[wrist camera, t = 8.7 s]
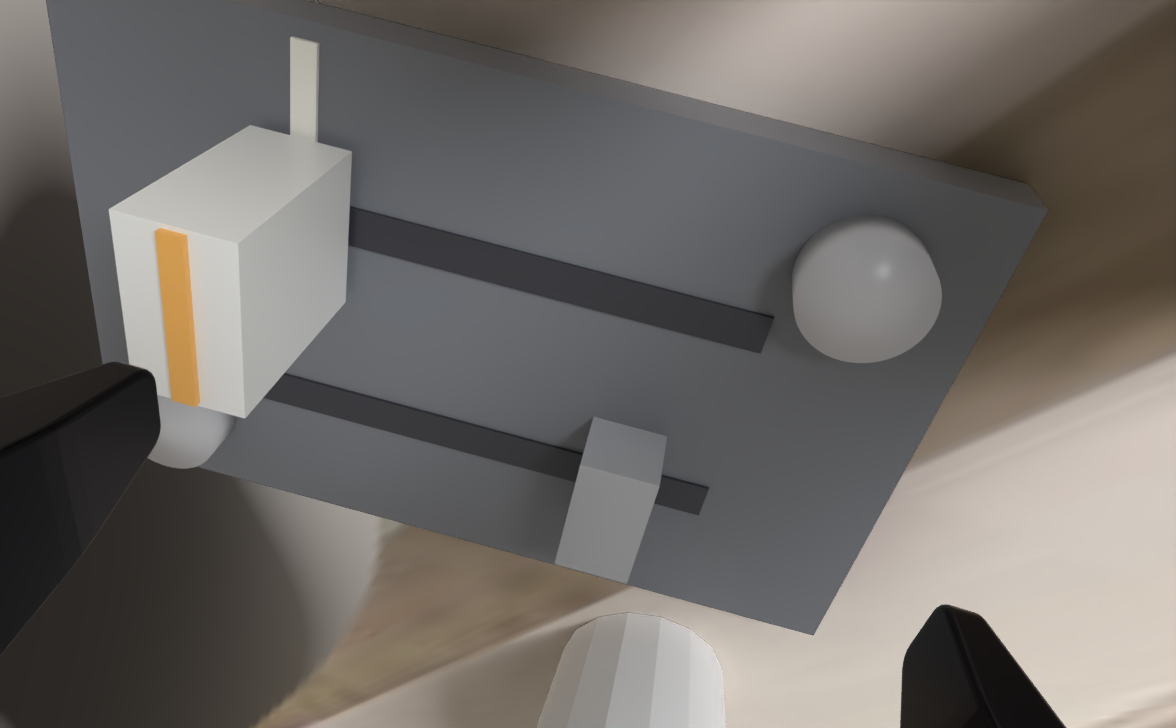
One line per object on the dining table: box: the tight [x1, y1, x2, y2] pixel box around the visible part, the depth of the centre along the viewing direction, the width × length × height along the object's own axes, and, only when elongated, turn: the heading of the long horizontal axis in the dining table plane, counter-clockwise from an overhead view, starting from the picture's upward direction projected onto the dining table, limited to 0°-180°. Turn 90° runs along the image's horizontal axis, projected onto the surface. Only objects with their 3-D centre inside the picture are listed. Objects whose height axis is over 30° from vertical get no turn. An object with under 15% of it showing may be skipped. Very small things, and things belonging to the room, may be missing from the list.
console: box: [46, 0, 1048, 635], centre depth 21 cm, size 22×14×4 cm, turn 78°
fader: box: [109, 125, 352, 418], centre depth 18 cm, size 2×4×5 cm, turn 168°
